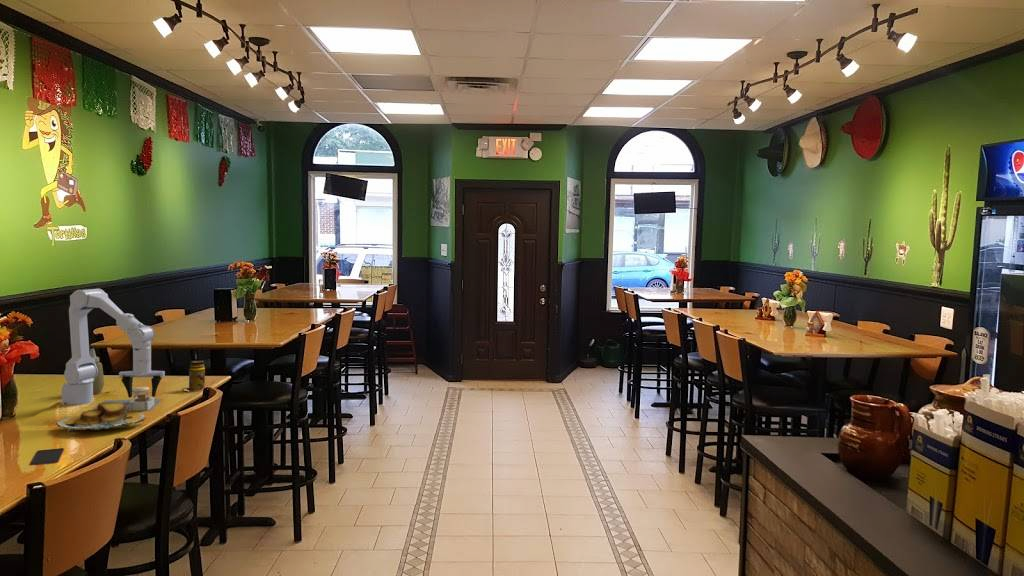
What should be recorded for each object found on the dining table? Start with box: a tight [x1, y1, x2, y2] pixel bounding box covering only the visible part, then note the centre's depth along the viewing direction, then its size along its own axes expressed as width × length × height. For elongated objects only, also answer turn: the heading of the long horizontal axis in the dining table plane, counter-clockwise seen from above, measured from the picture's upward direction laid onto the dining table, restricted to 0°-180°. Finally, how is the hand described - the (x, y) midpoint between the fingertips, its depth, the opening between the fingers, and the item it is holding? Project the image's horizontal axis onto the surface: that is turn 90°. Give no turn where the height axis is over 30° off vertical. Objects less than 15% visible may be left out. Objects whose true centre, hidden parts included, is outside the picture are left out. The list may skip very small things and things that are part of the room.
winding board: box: [91, 386, 164, 412], centre depth 242 cm, size 20×17×6 cm
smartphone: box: [28, 447, 65, 466], centre depth 190 cm, size 7×1×14 cm
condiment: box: [182, 360, 206, 393], centre depth 276 cm, size 7×8×12 cm
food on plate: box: [55, 402, 147, 432], centre depth 222 cm, size 25×25×7 cm
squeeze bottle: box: [89, 348, 105, 395], centre depth 263 cm, size 8×8×18 cm
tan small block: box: [138, 391, 149, 402], centre depth 241 cm, size 2×4×5 cm, turn 15°
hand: (142, 396), depth 240 cm, fingers open, 7 cm apart
